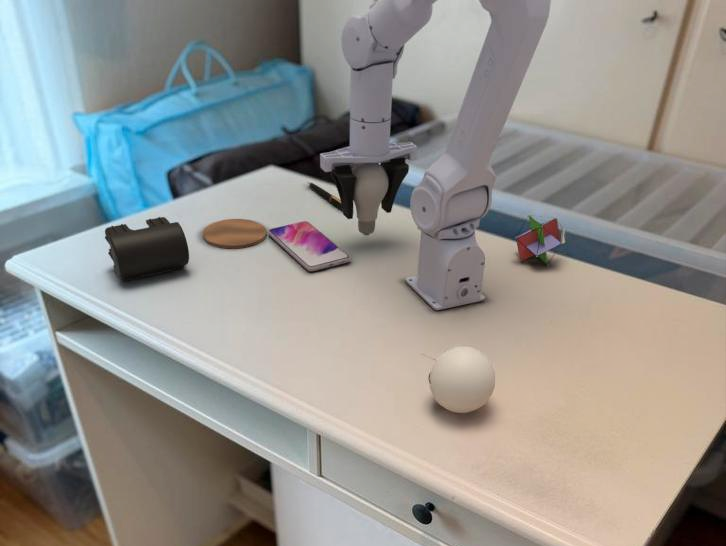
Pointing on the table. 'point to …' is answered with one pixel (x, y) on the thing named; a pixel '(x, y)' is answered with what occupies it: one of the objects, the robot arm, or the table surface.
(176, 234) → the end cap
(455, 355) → the white ball
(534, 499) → the table surface
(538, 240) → the geometric puzzle
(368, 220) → the lightbulb
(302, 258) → the smartphone
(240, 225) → the copper coaster
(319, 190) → the fountain pen
